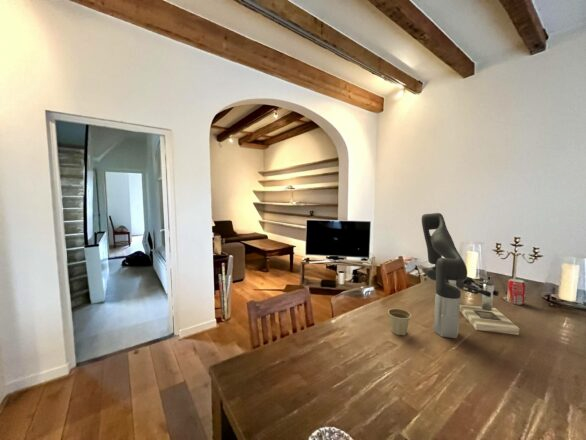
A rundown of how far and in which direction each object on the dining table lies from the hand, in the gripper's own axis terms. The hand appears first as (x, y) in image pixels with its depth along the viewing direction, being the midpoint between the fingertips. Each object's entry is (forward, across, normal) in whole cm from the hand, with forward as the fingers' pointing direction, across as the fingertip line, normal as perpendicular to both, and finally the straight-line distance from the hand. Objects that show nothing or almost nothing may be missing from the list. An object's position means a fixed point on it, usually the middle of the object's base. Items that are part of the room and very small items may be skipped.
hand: (494, 294), depth 115 cm
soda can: (-15, +37, +15) cm, 42 cm away
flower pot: (-5, -47, +15) cm, 49 cm away
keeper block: (-2, 0, +14) cm, 15 cm away
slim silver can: (-3, 0, +8) cm, 9 cm away
